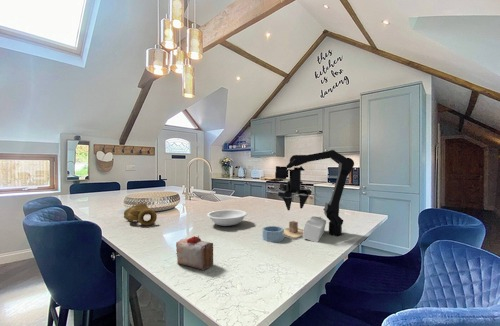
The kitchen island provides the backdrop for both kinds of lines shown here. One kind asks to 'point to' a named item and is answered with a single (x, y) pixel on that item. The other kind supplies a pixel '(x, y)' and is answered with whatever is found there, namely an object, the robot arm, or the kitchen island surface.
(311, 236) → the milk carton
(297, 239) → the rubber mat
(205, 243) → the food item
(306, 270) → the kitchen island surface
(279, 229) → the ceramic bowl
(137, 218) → the brown looped sculpture
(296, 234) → the oak lid
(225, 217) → the soup bowl
